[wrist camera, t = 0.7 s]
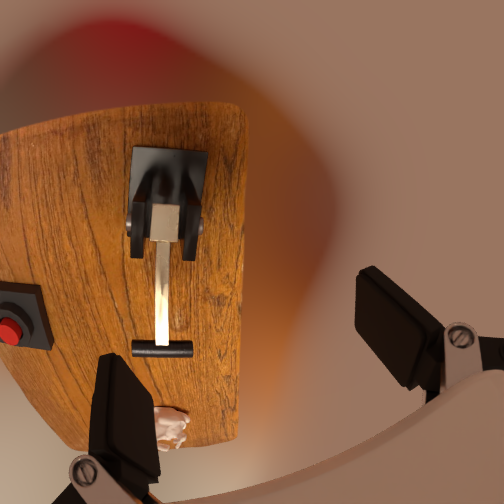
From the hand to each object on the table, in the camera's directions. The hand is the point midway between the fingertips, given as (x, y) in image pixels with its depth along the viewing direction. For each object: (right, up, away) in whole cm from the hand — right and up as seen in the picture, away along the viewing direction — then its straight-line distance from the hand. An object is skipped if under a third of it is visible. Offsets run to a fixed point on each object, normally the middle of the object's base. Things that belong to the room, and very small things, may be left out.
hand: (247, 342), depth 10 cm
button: (-32, -7, +17) cm, 37 cm away
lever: (-7, +1, +13) cm, 14 cm away
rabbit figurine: (-18, -27, +36) cm, 48 cm away
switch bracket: (-9, +10, +20) cm, 24 cm away
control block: (-33, -5, +20) cm, 39 cm away
